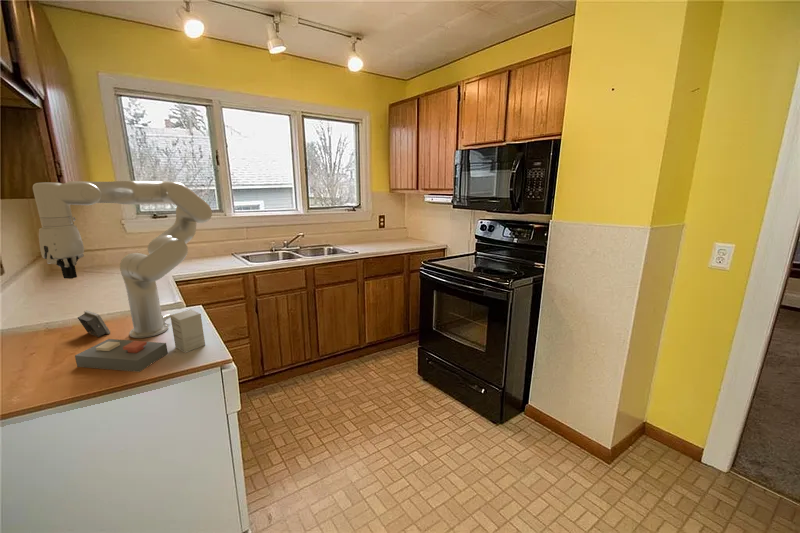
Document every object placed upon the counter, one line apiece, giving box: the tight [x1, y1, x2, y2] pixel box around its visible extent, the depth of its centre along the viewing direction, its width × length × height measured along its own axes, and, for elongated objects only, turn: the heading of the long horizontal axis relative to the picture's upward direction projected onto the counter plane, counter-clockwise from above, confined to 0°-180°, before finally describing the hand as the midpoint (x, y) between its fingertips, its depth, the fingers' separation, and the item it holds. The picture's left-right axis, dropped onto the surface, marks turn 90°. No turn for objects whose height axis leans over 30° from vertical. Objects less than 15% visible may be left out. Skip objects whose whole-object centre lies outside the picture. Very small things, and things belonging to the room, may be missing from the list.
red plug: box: [123, 340, 147, 353], centre depth 116 cm, size 4×4×4 cm
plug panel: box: [74, 338, 169, 373], centre depth 118 cm, size 12×22×4 cm, turn 84°
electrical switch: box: [77, 310, 111, 338], centre depth 135 cm, size 9×5×9 cm, turn 65°
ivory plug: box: [96, 341, 120, 351], centre depth 118 cm, size 4×4×4 cm
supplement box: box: [170, 308, 206, 353], centre depth 126 cm, size 7×7×13 cm
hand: (70, 277), depth 116 cm, fingers closed
